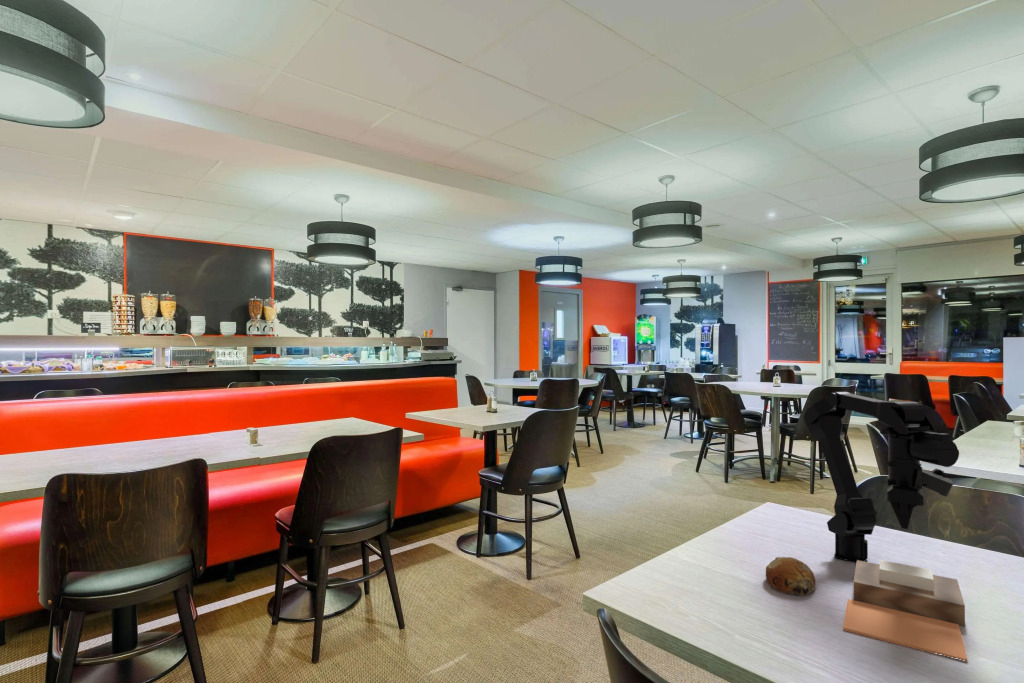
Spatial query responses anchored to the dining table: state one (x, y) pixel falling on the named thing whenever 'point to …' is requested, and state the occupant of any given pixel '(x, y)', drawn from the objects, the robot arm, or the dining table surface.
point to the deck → (910, 595)
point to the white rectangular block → (906, 575)
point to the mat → (904, 629)
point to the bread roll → (790, 576)
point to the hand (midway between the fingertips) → (904, 526)
